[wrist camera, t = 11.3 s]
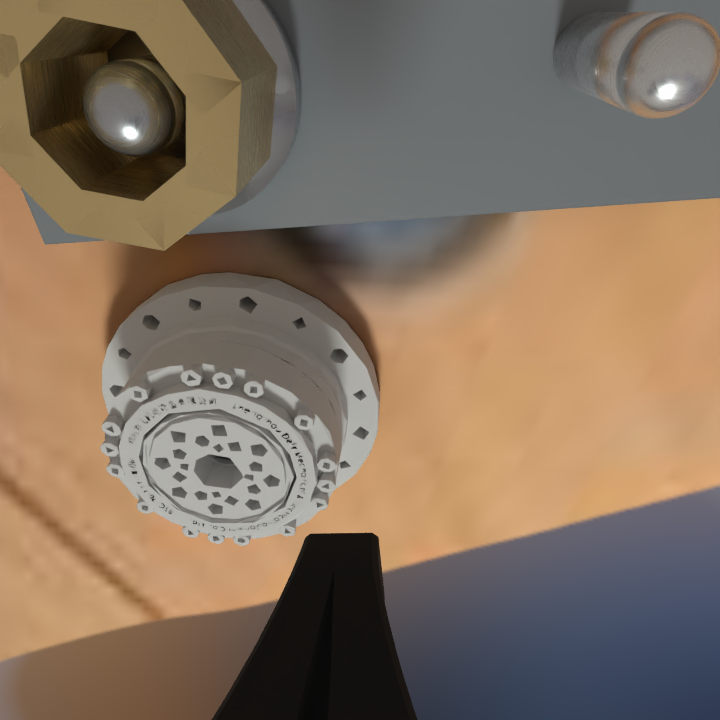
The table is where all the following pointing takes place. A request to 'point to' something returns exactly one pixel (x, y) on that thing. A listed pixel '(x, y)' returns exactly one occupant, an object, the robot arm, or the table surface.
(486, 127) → the base board
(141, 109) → the hub
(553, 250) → the table surface
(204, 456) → the mechanical component
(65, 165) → the collar
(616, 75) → the stand rod
